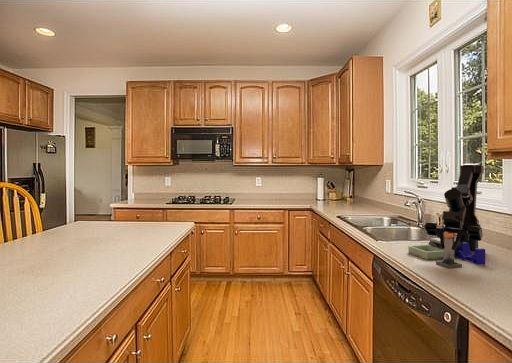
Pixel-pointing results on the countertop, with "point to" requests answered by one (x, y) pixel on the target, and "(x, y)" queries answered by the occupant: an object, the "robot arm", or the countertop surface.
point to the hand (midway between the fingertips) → (447, 248)
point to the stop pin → (449, 247)
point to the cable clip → (467, 255)
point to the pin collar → (449, 265)
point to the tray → (426, 252)
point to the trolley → (438, 244)
